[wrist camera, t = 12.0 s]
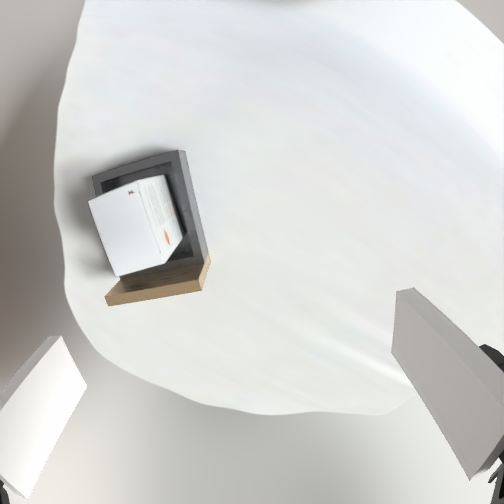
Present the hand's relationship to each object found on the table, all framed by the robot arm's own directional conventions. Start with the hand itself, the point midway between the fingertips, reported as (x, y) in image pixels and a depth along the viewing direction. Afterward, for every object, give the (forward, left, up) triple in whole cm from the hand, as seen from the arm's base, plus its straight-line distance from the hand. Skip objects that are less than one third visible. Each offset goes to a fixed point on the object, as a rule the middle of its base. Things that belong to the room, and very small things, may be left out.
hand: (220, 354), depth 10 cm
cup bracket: (+10, -3, -28) cm, 29 cm away
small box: (+10, -3, -27) cm, 29 cm away
